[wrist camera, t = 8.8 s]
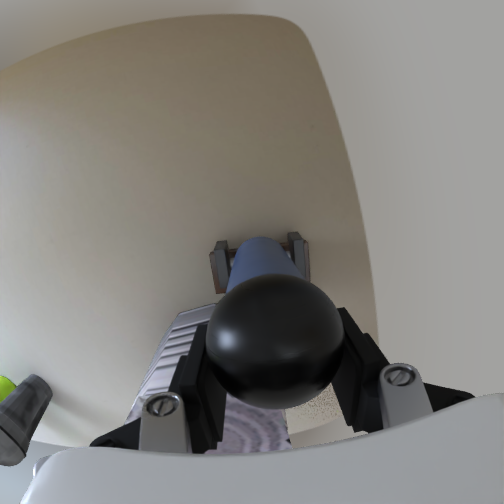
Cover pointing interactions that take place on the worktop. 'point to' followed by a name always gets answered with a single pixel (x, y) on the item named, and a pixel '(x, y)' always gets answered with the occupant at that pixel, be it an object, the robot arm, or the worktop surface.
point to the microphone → (273, 331)
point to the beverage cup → (21, 418)
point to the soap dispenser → (5, 388)
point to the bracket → (222, 254)
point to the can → (236, 412)
